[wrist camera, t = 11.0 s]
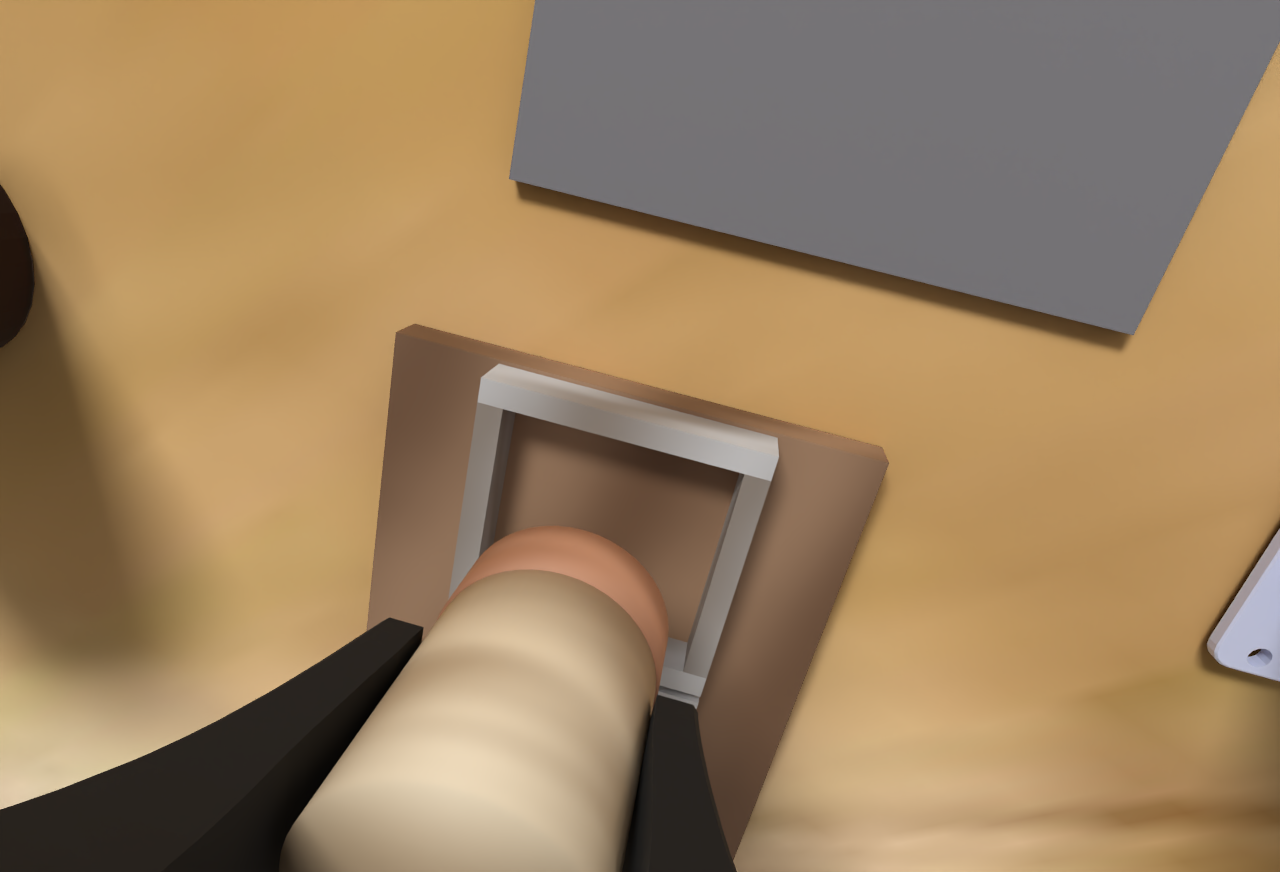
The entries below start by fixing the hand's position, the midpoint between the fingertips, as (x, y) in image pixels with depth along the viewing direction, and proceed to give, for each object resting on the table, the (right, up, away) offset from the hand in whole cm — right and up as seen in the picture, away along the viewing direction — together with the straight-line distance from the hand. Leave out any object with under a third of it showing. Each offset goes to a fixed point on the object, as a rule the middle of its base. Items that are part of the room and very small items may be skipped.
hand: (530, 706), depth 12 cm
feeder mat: (+7, +13, +2) cm, 15 cm away
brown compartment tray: (0, -1, +8) cm, 8 cm away
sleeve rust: (0, +1, +2) cm, 2 cm away
